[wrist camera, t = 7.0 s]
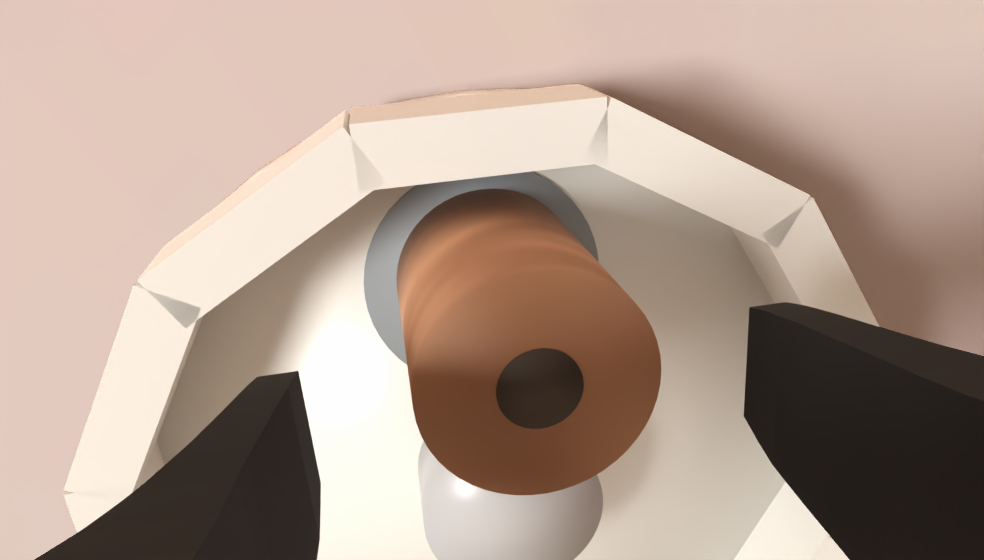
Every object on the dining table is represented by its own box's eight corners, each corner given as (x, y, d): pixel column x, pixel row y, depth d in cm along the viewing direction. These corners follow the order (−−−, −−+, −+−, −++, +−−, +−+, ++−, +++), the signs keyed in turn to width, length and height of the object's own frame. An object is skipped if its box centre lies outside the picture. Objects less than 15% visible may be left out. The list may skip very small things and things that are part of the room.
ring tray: (850, 49, 17) (939, 60, 14) (795, 637, 23) (848, 717, 21) (19, 136, 15) (-55, 167, 12) (214, 752, 21) (193, 857, 19)
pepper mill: (573, 178, 16) (663, 253, 11) (580, 346, 17) (662, 475, 13) (385, 200, 15) (396, 289, 11) (408, 372, 17) (428, 515, 12)
